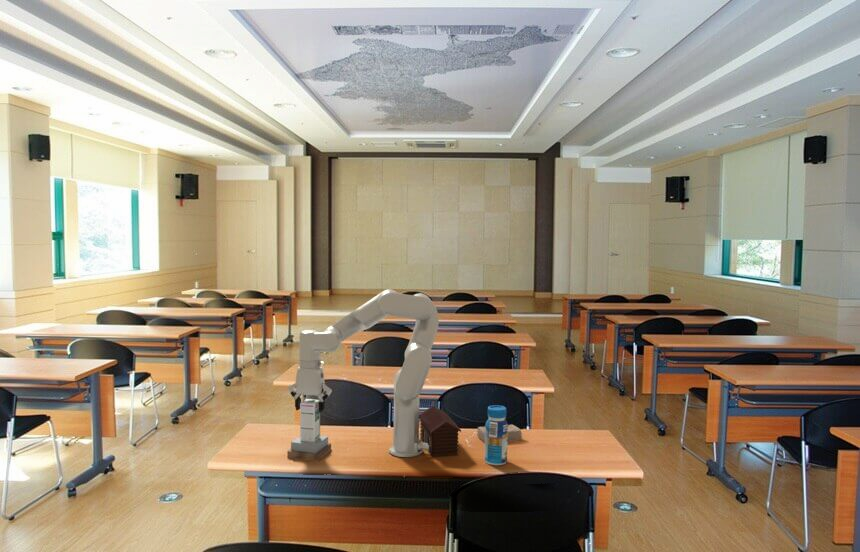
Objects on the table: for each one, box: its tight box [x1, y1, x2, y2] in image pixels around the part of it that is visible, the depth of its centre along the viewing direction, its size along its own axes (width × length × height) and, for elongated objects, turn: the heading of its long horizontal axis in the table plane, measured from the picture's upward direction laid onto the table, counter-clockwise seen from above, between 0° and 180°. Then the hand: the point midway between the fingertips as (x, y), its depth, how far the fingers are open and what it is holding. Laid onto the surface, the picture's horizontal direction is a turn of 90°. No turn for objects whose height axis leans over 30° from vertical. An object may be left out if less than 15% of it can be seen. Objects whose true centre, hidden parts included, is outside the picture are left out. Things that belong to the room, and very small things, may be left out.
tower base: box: [287, 442, 332, 462], centre depth 228 cm, size 12×12×3 cm
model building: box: [419, 401, 462, 457], centre depth 236 cm, size 21×12×15 cm, turn 14°
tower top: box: [290, 435, 329, 453], centre depth 228 cm, size 10×10×3 cm
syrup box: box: [299, 398, 321, 442], centre depth 227 cm, size 6×6×14 cm
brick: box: [476, 424, 523, 443], centre depth 247 cm, size 17×8×5 cm, turn 110°
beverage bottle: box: [484, 404, 509, 466], centre depth 222 cm, size 8×8×20 cm
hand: (309, 410), depth 226 cm, fingers open, 8 cm apart
